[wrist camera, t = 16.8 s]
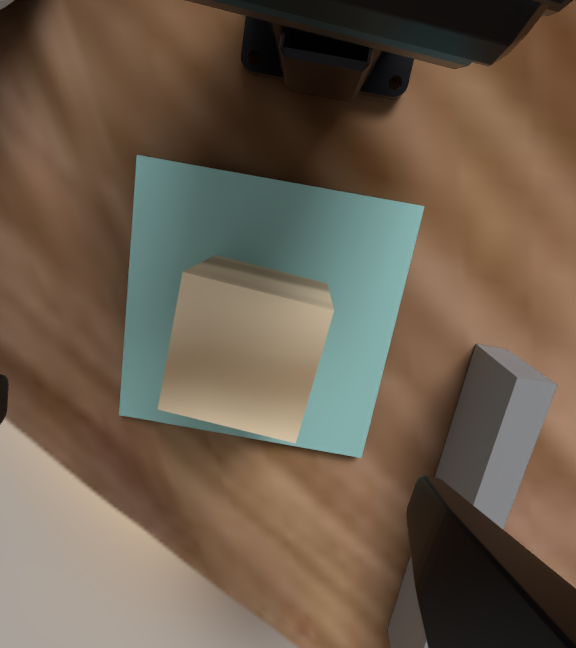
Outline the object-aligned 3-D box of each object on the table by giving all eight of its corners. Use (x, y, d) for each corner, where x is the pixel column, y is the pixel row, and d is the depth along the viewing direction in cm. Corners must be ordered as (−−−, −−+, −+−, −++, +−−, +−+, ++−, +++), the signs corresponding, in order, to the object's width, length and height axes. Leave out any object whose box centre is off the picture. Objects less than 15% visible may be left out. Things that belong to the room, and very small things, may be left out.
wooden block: (215, 254, 18) (182, 271, 13) (327, 283, 18) (334, 310, 14) (194, 359, 20) (157, 409, 15) (298, 385, 20) (295, 443, 15)
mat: (142, 156, 18) (136, 154, 17) (420, 206, 18) (424, 206, 17) (123, 409, 21) (119, 415, 21) (359, 451, 21) (361, 457, 21)
